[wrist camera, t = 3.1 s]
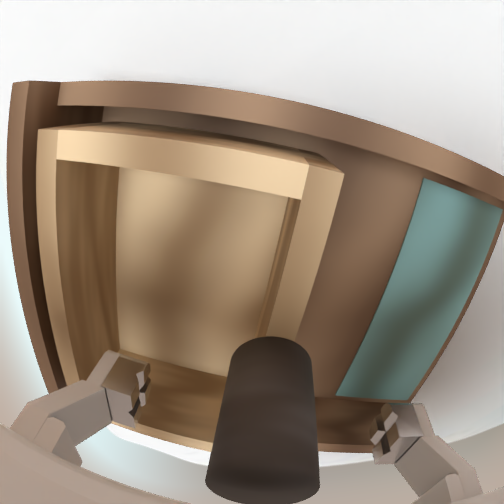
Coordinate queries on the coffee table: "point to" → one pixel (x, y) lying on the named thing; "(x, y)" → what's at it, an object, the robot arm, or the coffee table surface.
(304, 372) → the crate
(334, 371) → the bay
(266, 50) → the coffee table surface
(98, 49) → the coffee table surface
